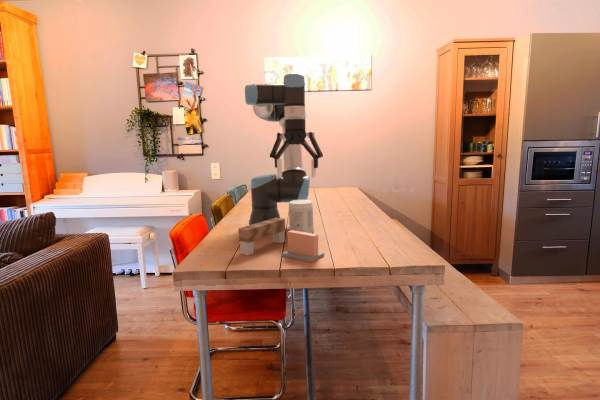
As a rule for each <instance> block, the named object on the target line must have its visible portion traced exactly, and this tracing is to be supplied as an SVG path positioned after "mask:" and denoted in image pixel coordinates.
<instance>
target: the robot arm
mask: <svg viewBox="0 0 600 400" xmlns="http://www.w3.org/2000/svg"><path fill="white" fill-rule="evenodd" d="M305 81H306V80H305V75H304V74H301V73H287V74H284V76H283V83H275V84H268V83H267V84H261V83H259V84H257V83H253V84H247V85H246V84H245V87H244V100H245V104H247V106H248V105H249V106H252V111H253V112H254V114H255V116H256V117H258V118H260V119H262V120H263V121H266V122H272V123H276V122H277V123H278V125H279V126H280V127H281V128H282V132H277V133H276V139H275V142H274V144H273V147H272V149H271V151H270V153H269V158H272V159H274V167H275V169H276V173H277V174H276V173H268V174H263V175H257V176H255V177H252V178H251V180H250V190H251V191H250V192H251V212H250V216H249V217H250V218H249V220H248V226H249V225H252V224H256V223H259V222H263V221H266V220H269V219H273V218H281V215H280V212H279V209H278V203H289V202H290V201H293V200H309V191H310V181H311V179H310V175H307V172H306V171H305V170H304V169H303V156H302V155H303V154H302V153H303V152H302V146H303V148H304V149H305V150H306V151H307V152H308V154H309V155H310V156H311V157H312V158H313V159H311V161H310V162H311V163H310V164H311V168H310V169H311V178H316V176H317V175H316V174H317V173H316V170H317V168H319V159H320V158H323V157H324V154H323V152H322V150H321V148H320V146H319V144H318V142H317V139H316V138H315V132H314V131H309V132H307V131H306V103H305V102H306V91H305V85H306V83H305ZM306 138H308V139H309V140H310V143H311V145H312V147H313V148H312V147H311V146H310V144H309V143H308V142H307V140H306ZM281 143H282V146H281V147H280V145H281ZM313 149H314V150H313ZM282 155H283V164H282V158H281V156H282ZM282 165H283V167H282Z"/></svg>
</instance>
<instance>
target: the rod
mask: <svg viewBox="0 0 600 400" xmlns="http://www.w3.org/2000/svg"><path fill="white" fill-rule="evenodd" d="M282 231H284V232H285V231H286V219H285V218H281V217H280V218H273V219H269V220H266V221H263V222H259V223H256V224H252V225H249V224H248V225H246V226H245V225H244V226H243V227H239V228H238V242H240V241H241V242H246V243H250V242H255V241H259V240H260V239H264V238H267V237H269V236H273V234H276V233H279V232H282Z"/></svg>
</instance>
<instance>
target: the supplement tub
mask: <svg viewBox="0 0 600 400" xmlns="http://www.w3.org/2000/svg"><path fill="white" fill-rule="evenodd" d="M313 207H314V206H313V200H310V199H307V200H293V201H290V202H288V220H289V221H288V223H289V231H291V230H295V231H300V232H306V233H312V234H315V233H314V209H313Z"/></svg>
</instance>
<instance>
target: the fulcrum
mask: <svg viewBox="0 0 600 400" xmlns="http://www.w3.org/2000/svg"><path fill="white" fill-rule="evenodd" d="M286 236H287V250H286V251H283V252H281V257H285V258H289V259H294V260H299V261H302V262H307V263H310V264H311V263H313V262H315V261H316V260H318V259H321V258H322V257H324V256H325V252H322V251H321V252H320V251H319V234H318V233H317V234H316V233H313V234H312V233H306V232H300V231H295V230H291V231H290V230H288V231H287V235H286Z"/></svg>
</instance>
